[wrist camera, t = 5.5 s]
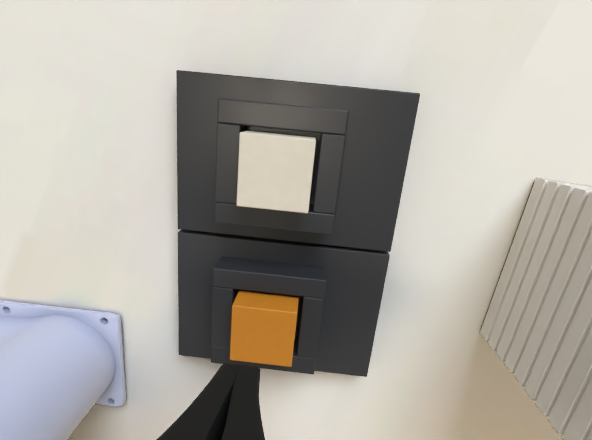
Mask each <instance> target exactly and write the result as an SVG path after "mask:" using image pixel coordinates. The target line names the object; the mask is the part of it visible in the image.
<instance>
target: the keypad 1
mask: <svg viewBox="0 0 592 440" xmlns="http://www.w3.org/2000/svg"><path fill="white" fill-rule="evenodd" d="M389 256H390V255H389V253H388V252H387V251H379V250H370V249H360V248H351V247H342V246H332V245H323V244H314V243H304V242H295V241H286V240H276V239H267V238H258V237H248V236H239V235H230V234H220V233H211V232H202V231H192V230H183V229H182V230H180V231H179V232H178V296H179V355H185V356H193V357H202V358H210V359H211V362H213V363H221V364H224V363H230V364H239V365H249V366H258V368H264V369H273V370H282V371H290V372H299V373H307V374H314V371H322V372H331V373H339V374H348V375H357V376H365V377H366V376H367V373H368V367H369V362H370V357H371V351H372V346H373V341H374V335H375V330H376V325H377V320H378V314H379V309H380V304H381V298H382V293H383V288H384V282H385V277H386V272H387V267H388V261H389ZM238 291H248V292H257V293H266V294H275V295H284V296H293V297H298V298H299V301H298V312H297V322H296V331H295V340H294V349H293V359H292V366H291V367H287V366H278V365H270V364H261V363H253V362H244V361H235V360H230V342H231V319H232V305H233V303H234V300H235V298H236V296H237V294H238Z"/></svg>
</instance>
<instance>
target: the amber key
mask: <svg viewBox="0 0 592 440" xmlns="http://www.w3.org/2000/svg"><path fill="white" fill-rule="evenodd" d="M298 301H299V298H298V297H293V296H284V295H275V294H266V293H257V292H248V291H238V294H237V296H236V298H235V300H234V303H233V305H232V319H231V342H230V360H235V361H244V362H253V363H261V364H270V365H278V366H287V367H291V366H292V359H293V349H294V340H295V331H296V322H297V312H298Z"/></svg>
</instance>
